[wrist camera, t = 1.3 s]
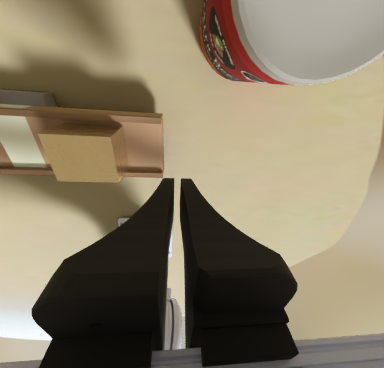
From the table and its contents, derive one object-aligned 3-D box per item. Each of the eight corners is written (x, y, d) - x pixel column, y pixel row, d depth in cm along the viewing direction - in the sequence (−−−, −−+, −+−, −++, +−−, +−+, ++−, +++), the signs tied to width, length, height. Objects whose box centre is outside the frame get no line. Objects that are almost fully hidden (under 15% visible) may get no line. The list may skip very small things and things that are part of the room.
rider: (128, 166, 17) (119, 182, 15) (76, 164, 17) (57, 181, 14) (122, 126, 15) (110, 137, 12) (63, 123, 15) (37, 133, 12)
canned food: (181, 3, 13) (190, -160, 4) (279, -71, 12) (654, -614, 3) (219, 97, 17) (267, 121, 8) (296, 51, 16) (470, 13, 6)
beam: (164, 170, 21) (162, 188, 18) (-70, 163, 19) (-128, 183, 15) (163, 100, 17) (159, 106, 13) (-141, 79, 14) (-245, 80, 11)
